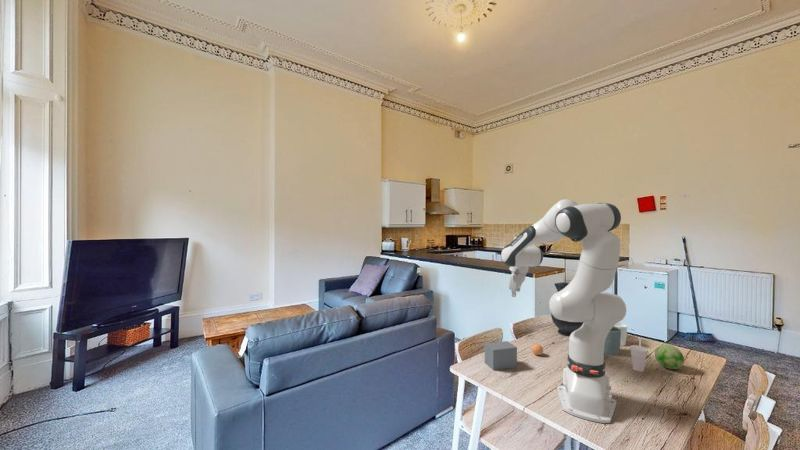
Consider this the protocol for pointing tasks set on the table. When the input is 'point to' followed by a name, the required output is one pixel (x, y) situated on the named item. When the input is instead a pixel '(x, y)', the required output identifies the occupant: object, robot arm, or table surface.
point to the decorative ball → (669, 356)
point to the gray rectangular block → (500, 355)
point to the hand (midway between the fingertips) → (515, 293)
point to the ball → (537, 349)
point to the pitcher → (565, 326)
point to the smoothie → (638, 356)
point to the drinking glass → (613, 341)
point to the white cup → (622, 333)
